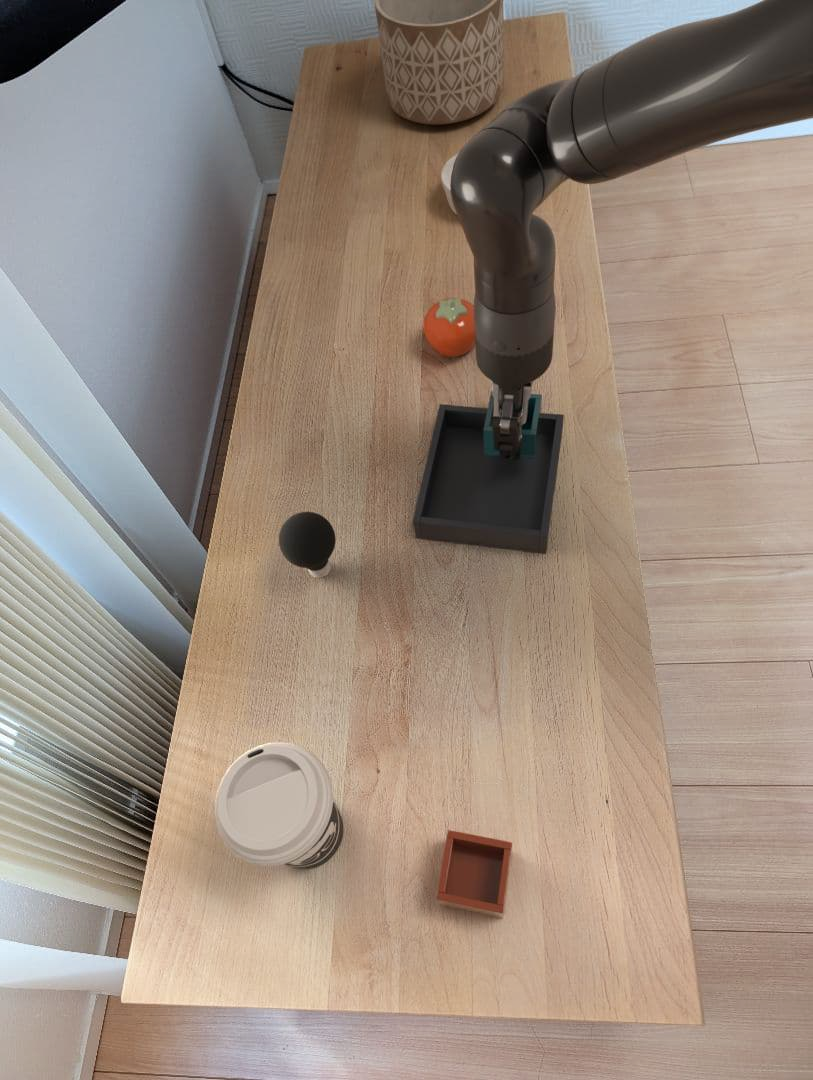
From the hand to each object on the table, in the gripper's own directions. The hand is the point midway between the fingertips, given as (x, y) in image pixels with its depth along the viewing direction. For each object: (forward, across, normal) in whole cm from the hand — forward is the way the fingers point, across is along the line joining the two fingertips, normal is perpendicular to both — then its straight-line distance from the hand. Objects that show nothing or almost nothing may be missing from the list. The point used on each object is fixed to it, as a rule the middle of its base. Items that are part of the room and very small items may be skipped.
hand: (513, 434), depth 88 cm
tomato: (+5, +17, +10) cm, 20 cm away
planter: (+5, +72, +21) cm, 75 cm away
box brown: (+5, -46, -3) cm, 46 cm away
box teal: (+1, 0, 0) cm, 1 cm away
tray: (+5, -4, +2) cm, 7 cm away
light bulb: (+5, -18, +19) cm, 27 cm away
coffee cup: (+5, -45, +13) cm, 47 cm away
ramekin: (+5, +46, +11) cm, 48 cm away
